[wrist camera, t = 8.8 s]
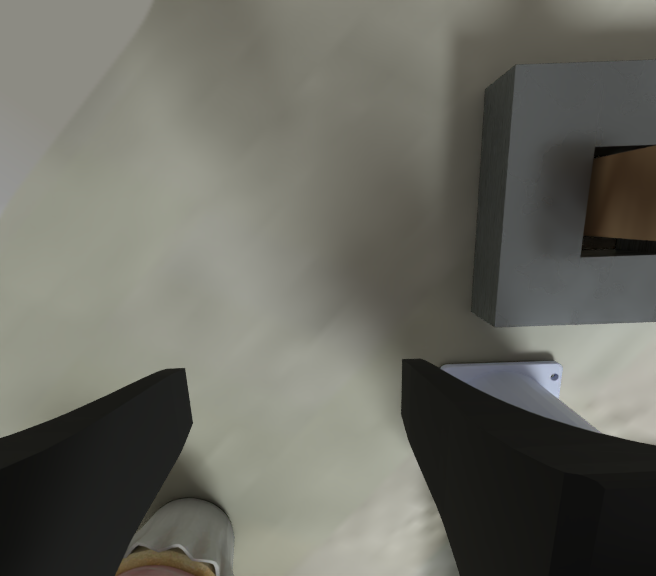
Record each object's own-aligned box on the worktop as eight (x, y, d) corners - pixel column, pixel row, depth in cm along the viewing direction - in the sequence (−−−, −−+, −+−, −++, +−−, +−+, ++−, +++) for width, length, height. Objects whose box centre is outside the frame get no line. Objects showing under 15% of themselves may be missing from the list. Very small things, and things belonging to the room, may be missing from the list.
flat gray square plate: (672, 305, 21) (728, 319, 18) (471, 311, 21) (494, 327, 18) (717, 80, 18) (793, 54, 15) (485, 89, 18) (515, 64, 15)
